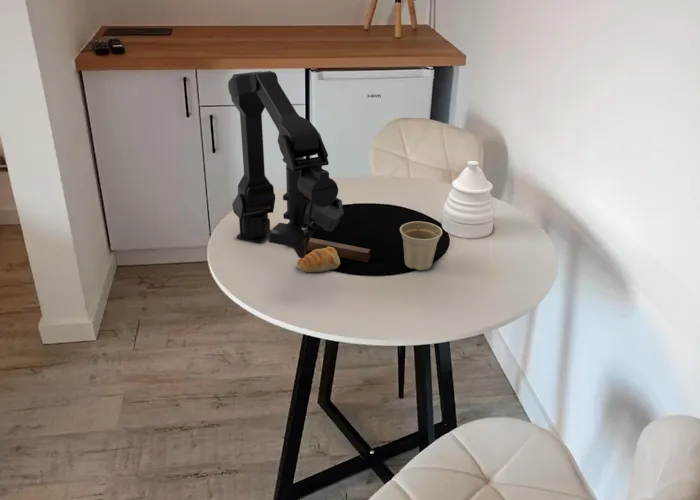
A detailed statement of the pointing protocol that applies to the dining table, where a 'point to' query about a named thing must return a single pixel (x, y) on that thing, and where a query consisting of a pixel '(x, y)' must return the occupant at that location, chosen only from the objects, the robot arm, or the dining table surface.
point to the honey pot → (469, 205)
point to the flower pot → (420, 243)
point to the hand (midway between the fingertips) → (301, 257)
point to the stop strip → (341, 249)
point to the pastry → (319, 260)
